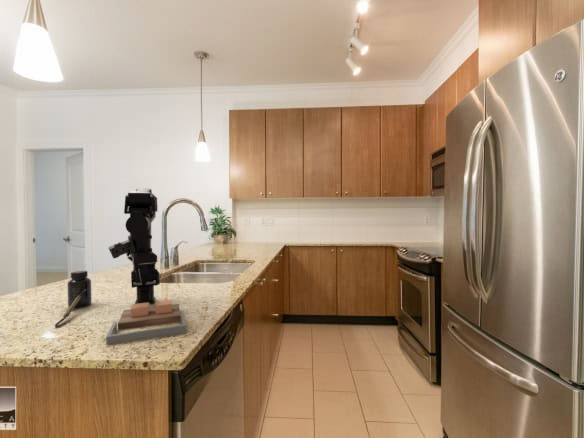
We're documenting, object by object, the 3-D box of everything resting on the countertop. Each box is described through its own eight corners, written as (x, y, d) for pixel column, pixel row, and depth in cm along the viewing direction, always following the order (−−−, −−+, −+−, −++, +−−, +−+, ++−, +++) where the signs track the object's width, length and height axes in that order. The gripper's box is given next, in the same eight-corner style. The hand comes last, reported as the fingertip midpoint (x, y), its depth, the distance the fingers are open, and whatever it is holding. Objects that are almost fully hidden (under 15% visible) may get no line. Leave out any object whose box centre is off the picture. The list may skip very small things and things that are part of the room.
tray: (113, 333, 79) (113, 322, 79) (184, 323, 86) (183, 313, 86) (106, 349, 70) (106, 336, 70) (186, 336, 77) (185, 325, 77)
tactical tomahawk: (72, 302, 101) (69, 300, 101) (88, 290, 102) (85, 288, 101) (43, 340, 82) (40, 338, 81) (63, 324, 82) (59, 322, 82)
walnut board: (123, 318, 91) (123, 310, 91) (179, 311, 97) (178, 303, 97) (117, 332, 80) (117, 323, 80) (180, 323, 86) (180, 315, 86)
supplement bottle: (96, 302, 107) (95, 270, 107) (81, 308, 100) (80, 274, 100) (78, 302, 108) (78, 269, 108) (62, 308, 101) (62, 273, 101)
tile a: (132, 312, 89) (132, 304, 89) (149, 310, 91) (149, 302, 91) (130, 317, 85) (130, 308, 85) (148, 314, 87) (148, 306, 87)
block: (156, 309, 92) (156, 301, 92) (171, 307, 93) (171, 299, 93) (155, 314, 87) (155, 305, 87) (171, 312, 89) (171, 303, 89)
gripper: (107, 230, 94) (108, 278, 95) (112, 236, 79) (114, 293, 80) (146, 229, 101) (146, 274, 102) (157, 234, 86) (158, 286, 86)
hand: (141, 281), depth 92 cm, fingers open, 9 cm apart
